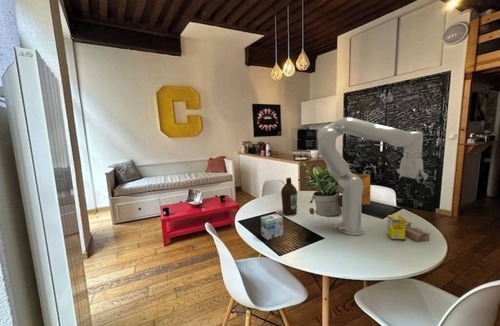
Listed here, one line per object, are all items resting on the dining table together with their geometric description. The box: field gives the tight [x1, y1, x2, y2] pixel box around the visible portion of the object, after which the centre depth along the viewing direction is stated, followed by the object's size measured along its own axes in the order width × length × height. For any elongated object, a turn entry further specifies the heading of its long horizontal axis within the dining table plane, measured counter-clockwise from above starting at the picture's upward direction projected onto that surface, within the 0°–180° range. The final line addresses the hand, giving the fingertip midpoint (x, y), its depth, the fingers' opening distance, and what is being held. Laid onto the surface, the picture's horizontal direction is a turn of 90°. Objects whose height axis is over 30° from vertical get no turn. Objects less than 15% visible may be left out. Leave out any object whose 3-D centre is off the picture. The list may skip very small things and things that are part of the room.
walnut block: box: [405, 227, 431, 243], centre depth 111 cm, size 7×7×4 cm
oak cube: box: [405, 220, 412, 229], centre depth 120 cm, size 5×5×5 cm
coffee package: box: [354, 173, 372, 206], centre depth 165 cm, size 10×12×22 cm
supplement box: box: [386, 214, 407, 241], centre depth 112 cm, size 6×6×11 cm
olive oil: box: [280, 177, 298, 216], centre depth 152 cm, size 11×11×25 cm
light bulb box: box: [260, 213, 284, 241], centre depth 122 cm, size 11×7×11 cm, turn 117°
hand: (410, 187), depth 118 cm, fingers open, 9 cm apart
